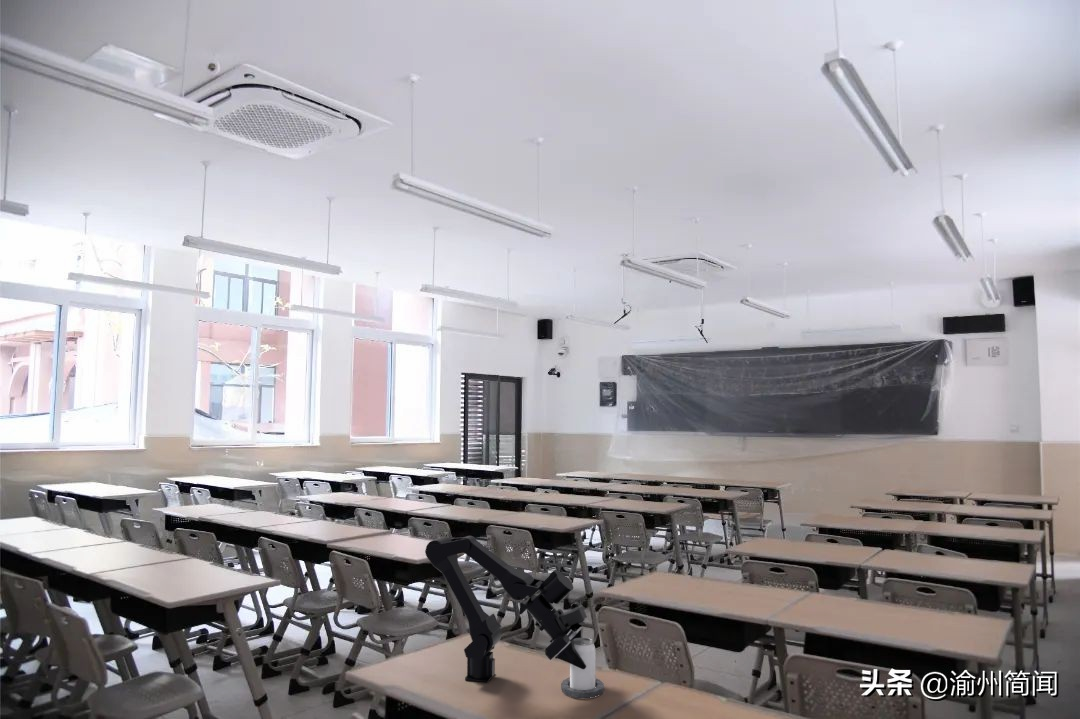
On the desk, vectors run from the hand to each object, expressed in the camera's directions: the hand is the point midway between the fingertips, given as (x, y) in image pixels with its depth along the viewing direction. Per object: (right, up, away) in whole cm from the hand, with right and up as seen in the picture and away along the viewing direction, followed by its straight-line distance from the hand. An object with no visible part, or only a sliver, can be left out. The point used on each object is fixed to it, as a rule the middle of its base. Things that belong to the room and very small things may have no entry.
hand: (587, 663), depth 175 cm
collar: (-1, -7, 0) cm, 7 cm away
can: (-1, -7, 0) cm, 7 cm away
